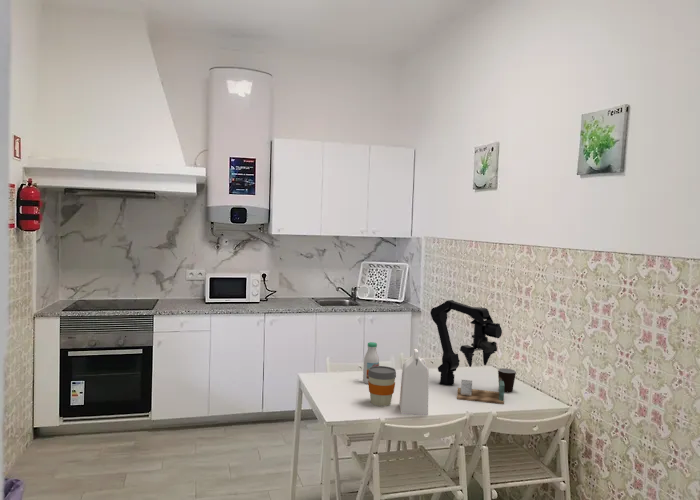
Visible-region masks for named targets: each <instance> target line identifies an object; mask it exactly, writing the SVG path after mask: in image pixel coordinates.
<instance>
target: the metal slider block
mask: <svg viewBox="0 0 700 500" xmlns="http://www.w3.org/2000/svg"><path fill="white" fill-rule="evenodd" d="M460 383H461V384H460V388H461V395H467V396H472V389H473V380H468V379H461V381H460Z"/></svg>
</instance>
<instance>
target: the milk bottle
mask: <svg viewBox="0 0 700 500" xmlns="http://www.w3.org/2000/svg"><path fill="white" fill-rule="evenodd" d="M377 346H378V344H377V343H376V342H373V341H372V342H371V341H370V342H367V351H366V353H365V355H364V357H363V358H364V359H363V367H362V368H363V369H362V370H363V371H362V372H363V374H362V381H363V384H366V385H368V381H369V376H368V371H369V368H370V367H374V366H380V357H379V354H378V351H377V348H378V347H377Z"/></svg>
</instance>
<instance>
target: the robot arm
mask: <svg viewBox="0 0 700 500" xmlns="http://www.w3.org/2000/svg"><path fill="white" fill-rule="evenodd" d="M451 310H453V311H456V312H458V313H461V314H463V315H464V314H465V315H467V316H469V317H470V318H471V319H472V320H471V321H470V322H469V323H470V324H473V325H474V326H473V334H472V335H471V338H473V339H472V341H473V342H472V343H471V346H470V345H468V344H465V345H464V344H463V345H460V347H459V352H461V353H463V355H464V357H465V359H466V362H467V364H468V366H469V367H470V368H472V364H473V356H474V355H475V354H474V353H475V351H482V360H483V366H487V364H488V361H489V360H490V357H491V356H492V355H493V354H495V352H498V347H497V342H496V341H489V338H488V337H492V338H495V339H500V338H501V337H502V335H503V330H502V327H501V324H500V323H499V322H498V323H495V322H494V320H493V318H492V317H491V315H490V311H489V309H488V308H486V307H481V306H480V307H479V306H478V307H476V306H471V305H467V304H464V303H461V302H458V301H456V300H453V299H449V300H445V301H444V302H443V303H441V304H439V305H438V306H436V307H432V308H431V309H430V311H429V312H430V314H429V315H430V317H431V319H432V321H433V322H434V324H435V325H436V327H437V332H438V337H439V341H440V344H441V350H442V357H441V364H440V365H439V366H438V367H437V371H438V372H439V373H440V379H439V385H442V386H443V385H444V386H454V384H455V374H454V372H456V370H457V369H458V368H459V367H460V362H461V359H460V358H459V354H458V353H455V351H454V350H453V347H452V342H451V338H450V334H449V330H448V325H447V320H448V313H450V312H451Z"/></svg>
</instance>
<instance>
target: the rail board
mask: <svg viewBox="0 0 700 500" xmlns="http://www.w3.org/2000/svg"><path fill="white" fill-rule="evenodd" d="M504 387H505V385H504V381H499V380H498V391H494V390H493V391H492V390H485V389H475V388H472V396H467V395H461V387H457V393H456V400H462V401H470V402H477V403H478V402H479V403H487V404H488V403H489V404H498V405H504V403H505V401H504V400H505V392H504Z"/></svg>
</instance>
